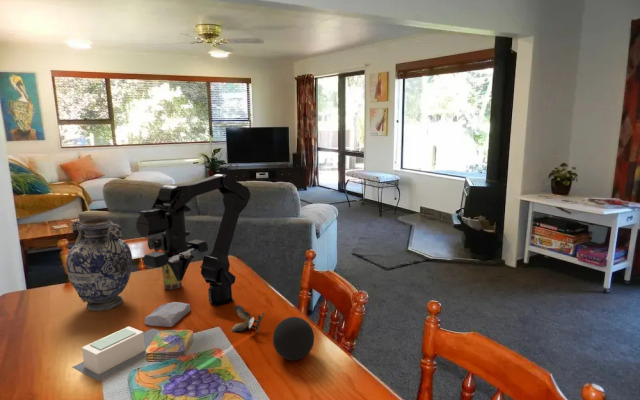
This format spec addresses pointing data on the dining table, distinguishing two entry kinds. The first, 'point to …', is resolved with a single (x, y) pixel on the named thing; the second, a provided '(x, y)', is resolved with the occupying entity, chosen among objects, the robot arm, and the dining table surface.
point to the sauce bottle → (169, 277)
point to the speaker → (293, 338)
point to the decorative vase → (99, 263)
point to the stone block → (167, 314)
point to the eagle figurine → (246, 320)
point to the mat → (147, 340)
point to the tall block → (113, 349)
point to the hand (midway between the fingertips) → (179, 280)
